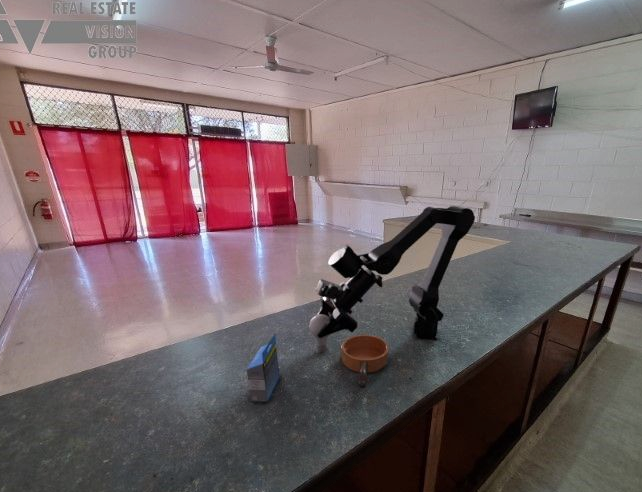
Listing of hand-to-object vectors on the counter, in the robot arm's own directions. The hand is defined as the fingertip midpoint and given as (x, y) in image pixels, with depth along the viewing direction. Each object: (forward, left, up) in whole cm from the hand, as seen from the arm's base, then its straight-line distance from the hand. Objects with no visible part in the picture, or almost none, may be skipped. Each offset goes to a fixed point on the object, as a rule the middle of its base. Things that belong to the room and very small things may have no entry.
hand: (315, 331), depth 84 cm
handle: (-13, +13, -4) cm, 19 cm away
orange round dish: (-13, +2, -7) cm, 15 cm away
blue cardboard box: (+9, +15, -7) cm, 19 cm away
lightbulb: (-1, -1, -7) cm, 7 cm away
